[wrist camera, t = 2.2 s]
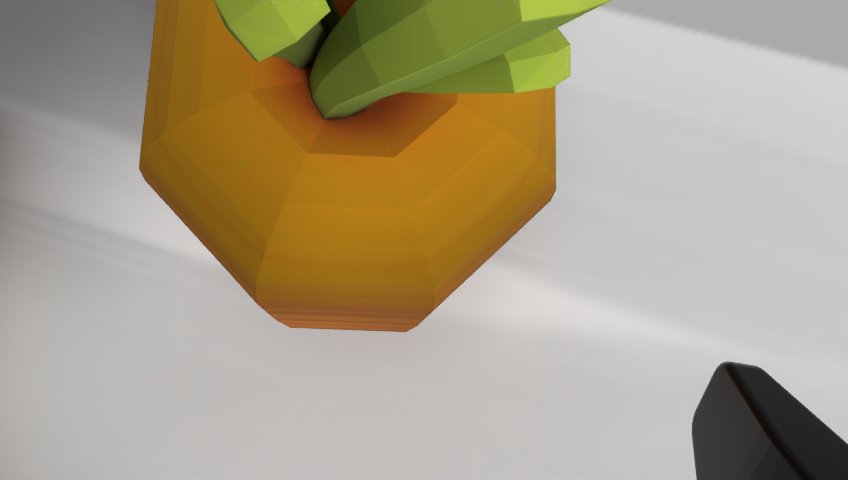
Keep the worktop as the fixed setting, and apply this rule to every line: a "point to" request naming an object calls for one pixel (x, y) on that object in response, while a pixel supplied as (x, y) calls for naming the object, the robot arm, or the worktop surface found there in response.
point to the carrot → (354, 143)
